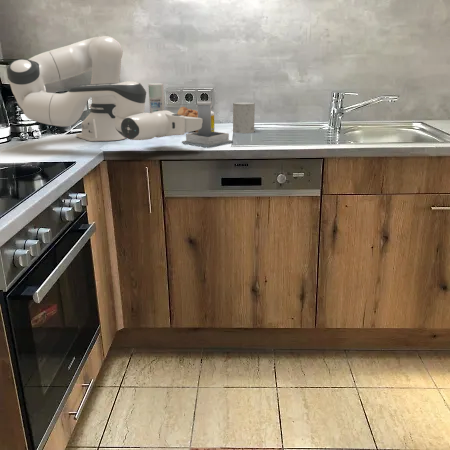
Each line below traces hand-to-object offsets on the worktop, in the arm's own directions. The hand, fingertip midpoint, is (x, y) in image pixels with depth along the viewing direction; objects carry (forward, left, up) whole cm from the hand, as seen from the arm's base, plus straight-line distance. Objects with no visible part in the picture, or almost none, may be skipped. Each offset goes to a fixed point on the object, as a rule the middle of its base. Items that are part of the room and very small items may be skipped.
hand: (191, 119), depth 183 cm
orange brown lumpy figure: (-25, +25, -10) cm, 37 cm away
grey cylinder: (-8, +41, -10) cm, 43 cm away
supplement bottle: (-12, +20, -10) cm, 26 cm away
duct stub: (0, +7, -9) cm, 12 cm away
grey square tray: (0, +9, -10) cm, 13 cm away
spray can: (-41, +20, -10) cm, 47 cm away
